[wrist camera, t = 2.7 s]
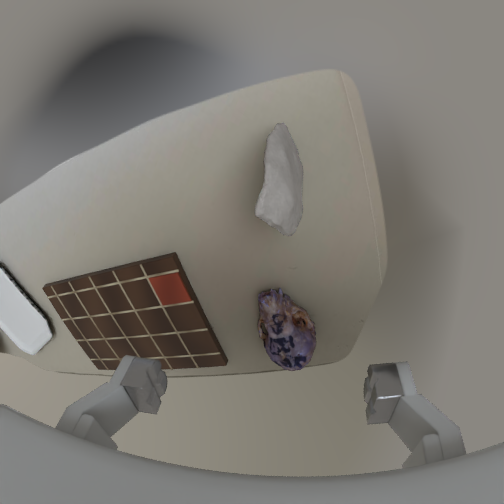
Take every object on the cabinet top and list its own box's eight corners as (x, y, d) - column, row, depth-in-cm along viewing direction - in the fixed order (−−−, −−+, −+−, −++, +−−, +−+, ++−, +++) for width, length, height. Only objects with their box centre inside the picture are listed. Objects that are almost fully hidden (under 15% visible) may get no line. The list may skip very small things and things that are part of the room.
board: (175, 252, 39) (172, 257, 38) (228, 360, 48) (226, 366, 47) (45, 284, 46) (41, 288, 45) (100, 365, 55) (97, 370, 53)
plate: (-21, 291, 52) (-26, 297, 50) (-5, 247, 44) (-13, 253, 42) (34, 353, 59) (30, 359, 57) (62, 325, 51) (56, 333, 49)
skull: (244, 288, 40) (244, 320, 35) (303, 274, 39) (312, 305, 34) (266, 350, 46) (269, 381, 40) (316, 338, 45) (324, 369, 39)
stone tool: (312, 197, 34) (322, 270, 21) (284, 204, 34) (276, 280, 21) (288, 116, 30) (284, 133, 17) (258, 124, 31) (230, 149, 18)
